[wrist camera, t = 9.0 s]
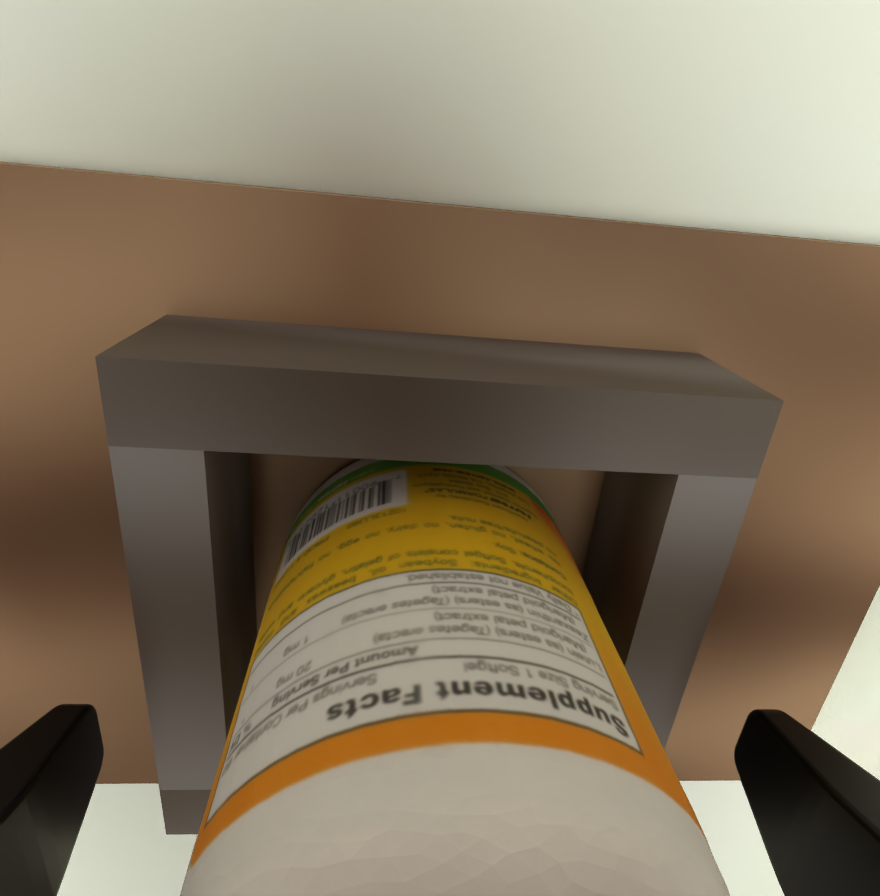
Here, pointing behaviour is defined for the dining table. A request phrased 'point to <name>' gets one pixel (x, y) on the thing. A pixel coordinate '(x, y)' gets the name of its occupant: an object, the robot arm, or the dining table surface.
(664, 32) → the dining table surface
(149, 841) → the dining table surface
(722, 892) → the supplement bottle
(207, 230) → the can holder
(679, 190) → the dining table surface
